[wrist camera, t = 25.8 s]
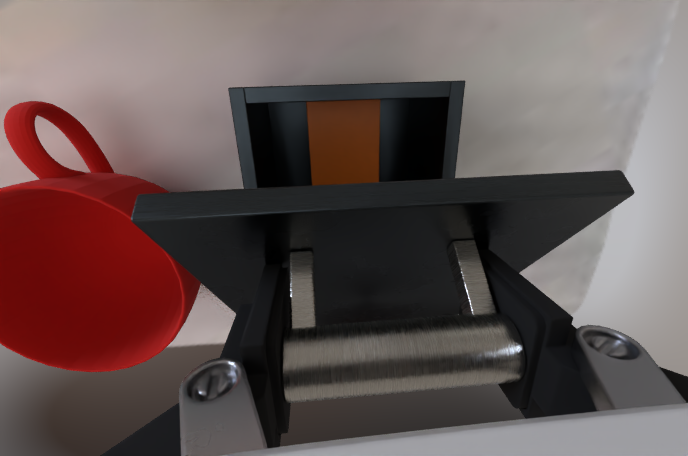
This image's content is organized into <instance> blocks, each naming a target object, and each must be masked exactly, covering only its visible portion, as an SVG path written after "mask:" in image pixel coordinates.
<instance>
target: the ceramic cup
mask: <svg viewBox="0 0 688 456" xmlns="http://www.w3.org/2000/svg"><path fill="white" fill-rule="evenodd" d="M37 115H38V116H41V117H43V118H45V119H47V120H48V121H50V122H51V123H53V124H54V125H55V126H56V127H58V128H59V129H60V130H61V131H62V132H63V133H64V134H65V135H66V137H67V138H68V139H69V140H70V141H71V143H72V144H73V145H74V147H75V148H76V149H77V151H78V152H79V154H80V155H81V156H82V158H83V160H84V161H85V163H86V164H87V166H88V168H89V169H90V171H91V173H84V172H81V171H75V170H71V169H69V168H66V167H64V166H62V165H61V164H59V163H58V162H56V161H55V160H54V159H53V158H52V157H51V156H50V155H49V154H48V153H47V152H46V150H45V149H44V148H43V146H42V145H41V143H40V141H39V139H38V137H37V134H36V131H35V117H36V116H37ZM4 129H5V133H6V136H7V139H8V141H9V143H10V145H11V147H12V149H13V150H14V152H15V153H16V155H17V156H18V157H19V158H20V160H21V161H22V162H23V163H24V164H25V165H26V166H27V167H28V168H29V169H30V170H31V171H32V172H33V173H34V174H35V175H36V176H37V177H38V178H39V179H40V180H35V181H30V182H25V183H20V184H16V185H11V186H8V187H4V188H0V343H1V344H2V345H3V346H5V347H6V348H8V349H10V350H12V351H14V352H16V353H18V354H20V355H22V356H24V357H26V358H29V359H31V360H34V361H37V362H40V363H43V364H45V365H48V366H53V367H57V368H62V369H66V370H73V371H84V372H103V371H114V370H119V369H124V368H129V367H132V366H135V365H137V364H139V363H142V362H145V361H147V360H149V359H150V358H152V357H154V356H155V355H157V354H159V353H160V352H161V351H163V350H164V349H165V348H166V347H167V346H168V345H169V344H170V343H171V342H172V341H173V340H174V339H175V337H176V336H177V334H178V332H179V331H180V329H181V328H182V326H183V324H184V323H185V321H186V319H187V317H188V315H189V313H190V311H191V309H192V306H193V304H194V302H195V299H196V297H197V294H198V291H199V287H200V284H201V282H200V281H199V280H197V279H196V278H195V277H194V276H193V275H192V274H191V273H189V272H188V271H187V270H186V269H185V268H184V267H183V266H181V265H180V264H179V263H178V262H177V261H176V260H175V259H173V258H172V257H171V256H170V255H169V254H168V253H167V252H165V251H164V250H163V249H162V248H161V247H160V246H159V245H157V244H156V243H155V242H154V241H153V240H152V239H151V238H149V237H148V236H147V235H146V234H145V233H144V232H143V231H141V230H140V229H139V228H138V227H137V226H136V225H135V224H134V223H132V221H131V216H132V212H133V209H134V205H135V202H136V198H137V196H138V195H139V194H151V193H170V192H169V191H167V190H165V189H163V188H161V187H160V186H158V185H156V184H154V183H151V182H148V181H145V180H142V179H140V178H137V177H132V176H127V175H121V174H116V173H114V171H113V169H112V167H111V166H110V164H109V162H108V161H107V159H106V157H105V155H104V154H103V152H102V151H101V149H100V148H99V146H98V145H97V143H96V142H95V140H94V139H93V137H92V136H91V135H90V133H89V132H88V131H87V130H86V128H85V127H84V126H83V125H82V124H81V123H80V122H79V121H78V120H77V119H75V118H74V117H73V116H72V115H70V114H69V113H68V112H66V111H64V110H63V109H61V108H59V107H57V106H55V105H53V104H49V103H45V102H38V101H29V102H24V103H19V104H17V105H15V106H13V107H11V108H10V109H9V110H8V112H7V114H6V116H5V119H4Z"/></svg>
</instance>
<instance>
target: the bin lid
mask: <svg viewBox="0 0 688 456" xmlns="http://www.w3.org/2000/svg"><path fill="white" fill-rule="evenodd" d="M633 194H634V190H633V188H632V187H631V185H630V184H629V182H628V180H627V179H626V177H625V176H624V174H623V172H622V171H620V170H614V171H594V172H573V173H553V174H533V175H513V176H493V177H473V178H453V179H433V180H413V181H393V182H372V183H352V184H332V185H312V186H292V187H272V188H252V189H232V190H212V191H192V192H171V193H151V194H139V195H138V196H137V198H136V202H135V205H134V209H133V212H132V216H131V221H132V223H134V224H135V225H136V226H137V227H138V228H139V229H140V230H141V231H143V232H144V233H145V234H146V235H147V236H148V237H149V238H151V239H152V240H153V241H154V242H155V243H156V244H157V245H159V246H160V247H161V248H162V249H163V250H164V251H165V252H167V253H168V254H169V255H170V256H171V257H172V258H173V259H175V260H176V261H177V262H178V263H179V264H180V265H181V266H183V267H184V268H185V269H186V270H187V271H188V272H189V273H191V274H192V275H193V276H194V277H195V278H196V279H197V280H199V281H200V282H201V283H202V284H203V285H204V286H205V287H206V288H208V289H209V290H210V291H211V292H212V293H213V294H214V295H216V296H217V297H218V298H219V299H220V300H221V301H222V302H224V303H225V304H226V305H227V306H228V307H229V308H230V309H232V310H233V311H234V312H235V313H236V314H237V311H238V309H239V307H240V305H242V304H252V303H253V301H254V298H255V295H256V292H257V288H258V285H259V282H260V279H261V276H262V273H263V269H264V266H265V265H271V264H282V267H283V268H287V267H288V270H289V278H290V328H286V329H285V330H284V332H283V336H282V343H281V386H282V393H283V398H284V400H285V402H287V403H294V402H305V401H315V400H326V399H338V398H348V397H359V396H370V395H381V394H390V393H391V394H392V393H402V392H414V391H424V390H435V389H446V388H456V387H467V386H479V385H489V384H500V383H511V382H517V381H519V380H520V379H521V378H522V377H523V376H524V373H525V370H526V352H525V347H524V343H523V340H522V337H521V335H520V333H519V330H518V329H517V327H516V325H515V324H514V322H513V321H512V320H511V319H510V318H509V317H508V316H507V315H506V314H504V313H501V312H497V311H496V308H495V305H494V302H493V298H492V295H491V292H490V289H489V286H488V282H487V279H486V276H485V273H484V269H483V266H482V263H481V260H480V256H479V253H478V250H485V249H489V250H491V251H492V252H493V253H495V254H496V255H497V256H498V257H500V258H501V259H502V260H503V261H505V262H506V263H507V264H508V265H509V266H511V267H512V268H513V269H514V270H516V271H517V272H518V273H519V272H521V271H522V270H524V269H525V268H527V267H528V266H530V265H531V264H533V263H534V262H535V261H537V260H538V259H540V258H541V257H543V256H544V255H546V254H547V253H549V252H550V251H552V250H553V249H554V248H556V247H557V246H559V245H560V244H562V243H563V242H565V241H566V240H568V239H569V238H570V237H572V236H573V235H575V234H576V233H578V232H579V231H581V230H582V229H584V228H585V227H587V226H588V225H589V224H591V223H592V222H594V221H595V220H597V219H598V218H600V217H601V216H603V215H604V214H606V213H607V212H608V211H610V210H611V209H613V208H614V207H616V206H617V205H618V204H620V203H622V202H623V201H624V200H626V199H627V198H629V197H630V196H632V195H633ZM460 304H461V308H462V312H463V314H461V315H458V314H459V310H460Z"/></svg>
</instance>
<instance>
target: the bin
mask: <svg viewBox="0 0 688 456" xmlns="http://www.w3.org/2000/svg"><path fill="white" fill-rule="evenodd" d="M464 88H465V81H435V82H402V83H368V84H335V85H302V86H268V87H235V88H228V90H229V96H230V102H231V109H232V115H233V122H234V128H235V134H236V141H237V147H238V153H239V160H240V166H241V172H242V179H243V185H244V189H252V188H272V187H292V186H312V179H311V164H310V150H309V136H308V122H307V108H306V102H315V101H346V100H376V99H380V152H379V182H393V181H413V180H433V179H453V178H455V171H456V162H457V152H458V143H459V134H460V125H461V115H462V106H463V97H464Z"/></svg>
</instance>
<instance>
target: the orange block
mask: <svg viewBox="0 0 688 456" xmlns="http://www.w3.org/2000/svg"><path fill="white" fill-rule="evenodd" d="M306 108H307V122H308V136H309V150H310V164H311V179H312V185H332V184H352V183H372V182H379V152H380V99H376V100H346V101H315V102H306Z"/></svg>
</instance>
